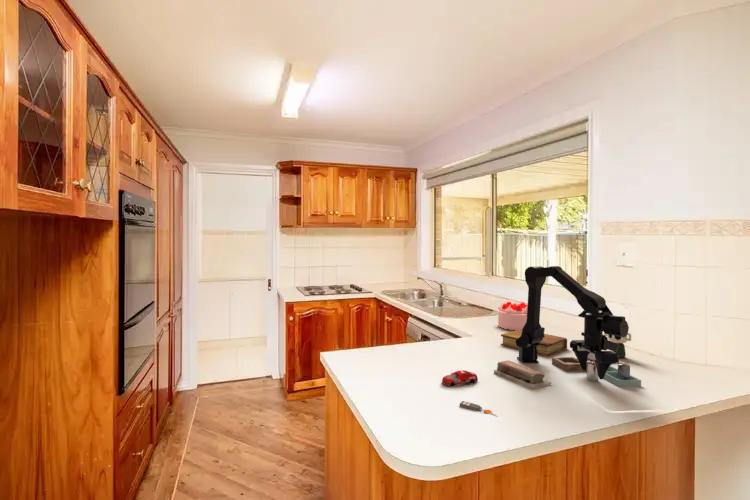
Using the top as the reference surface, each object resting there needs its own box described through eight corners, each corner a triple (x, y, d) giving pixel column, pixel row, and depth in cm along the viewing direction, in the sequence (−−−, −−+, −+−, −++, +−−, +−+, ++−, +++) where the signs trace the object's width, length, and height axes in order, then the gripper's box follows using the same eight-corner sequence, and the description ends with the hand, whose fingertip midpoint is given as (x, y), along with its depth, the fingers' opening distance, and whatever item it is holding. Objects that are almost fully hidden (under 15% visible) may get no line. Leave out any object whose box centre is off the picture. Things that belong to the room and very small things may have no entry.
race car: (446, 388, 127) (446, 377, 127) (439, 382, 132) (439, 371, 132) (480, 384, 131) (480, 372, 131) (471, 378, 136) (471, 367, 136)
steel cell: (591, 383, 131) (591, 363, 131) (584, 379, 135) (584, 360, 135) (600, 383, 132) (601, 363, 132) (593, 379, 135) (594, 360, 135)
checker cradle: (564, 372, 143) (565, 363, 142) (551, 364, 152) (552, 356, 151) (587, 371, 143) (587, 363, 143) (573, 364, 152) (573, 356, 152)
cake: (530, 333, 204) (530, 307, 204) (493, 328, 215) (493, 303, 215) (536, 326, 221) (537, 302, 220) (502, 322, 232) (502, 299, 231)
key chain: (458, 408, 112) (458, 403, 112) (463, 404, 115) (463, 399, 115) (502, 420, 105) (502, 415, 105) (506, 415, 108) (506, 410, 108)
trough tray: (618, 387, 127) (619, 380, 127) (586, 370, 144) (586, 364, 144) (641, 387, 128) (641, 380, 128) (606, 370, 145) (606, 363, 145)
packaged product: (492, 361, 141) (511, 358, 146) (492, 374, 141) (511, 370, 146) (532, 376, 125) (552, 372, 130) (532, 391, 125) (552, 386, 130)
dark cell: (622, 385, 129) (622, 364, 129) (614, 381, 132) (615, 361, 132) (632, 384, 129) (632, 364, 129) (624, 380, 133) (624, 361, 132)
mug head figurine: (599, 354, 166) (600, 325, 165) (608, 352, 169) (608, 323, 169) (626, 361, 156) (627, 330, 156) (634, 358, 160) (635, 328, 160)
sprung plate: (566, 368, 144) (566, 366, 144) (557, 363, 150) (557, 361, 150) (581, 368, 145) (581, 366, 145) (571, 363, 151) (571, 361, 151)
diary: (567, 350, 174) (567, 337, 174) (547, 357, 163) (547, 344, 162) (521, 339, 192) (521, 328, 192) (500, 345, 180) (500, 333, 180)
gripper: (634, 337, 124) (633, 383, 125) (597, 325, 143) (596, 365, 143) (603, 337, 124) (602, 384, 124) (569, 325, 142) (568, 366, 142)
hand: (592, 374), depth 133 cm, fingers open, 9 cm apart
